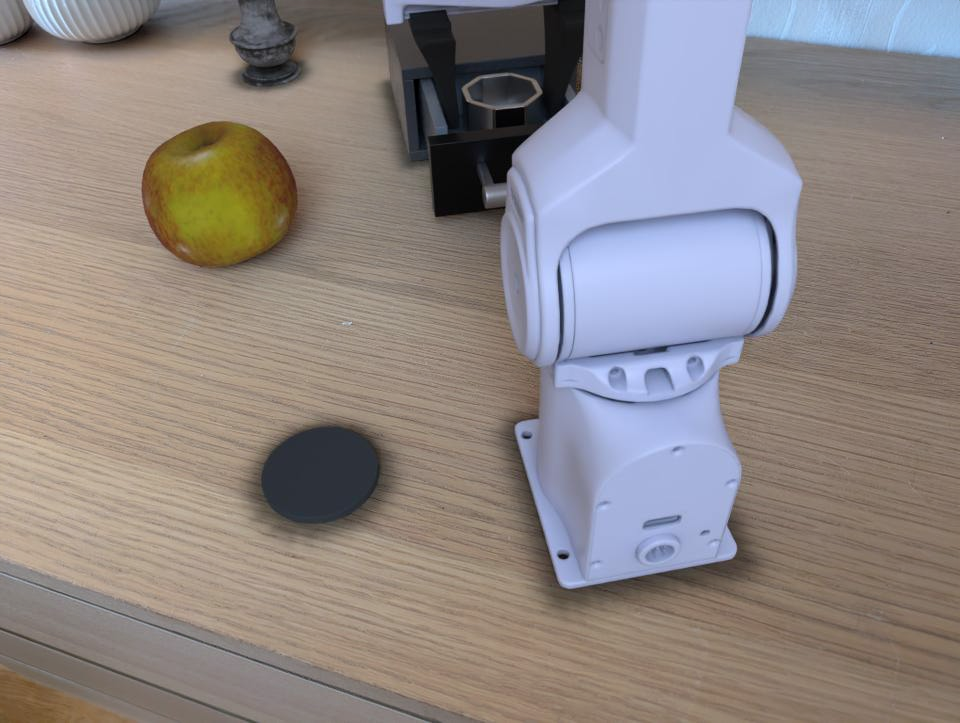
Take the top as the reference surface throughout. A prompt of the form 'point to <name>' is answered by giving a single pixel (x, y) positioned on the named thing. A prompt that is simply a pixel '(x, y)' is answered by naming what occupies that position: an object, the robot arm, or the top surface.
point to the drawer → (471, 149)
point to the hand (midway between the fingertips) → (501, 116)
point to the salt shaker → (265, 44)
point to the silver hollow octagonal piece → (501, 102)
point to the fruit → (218, 194)
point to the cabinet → (463, 57)
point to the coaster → (320, 475)
